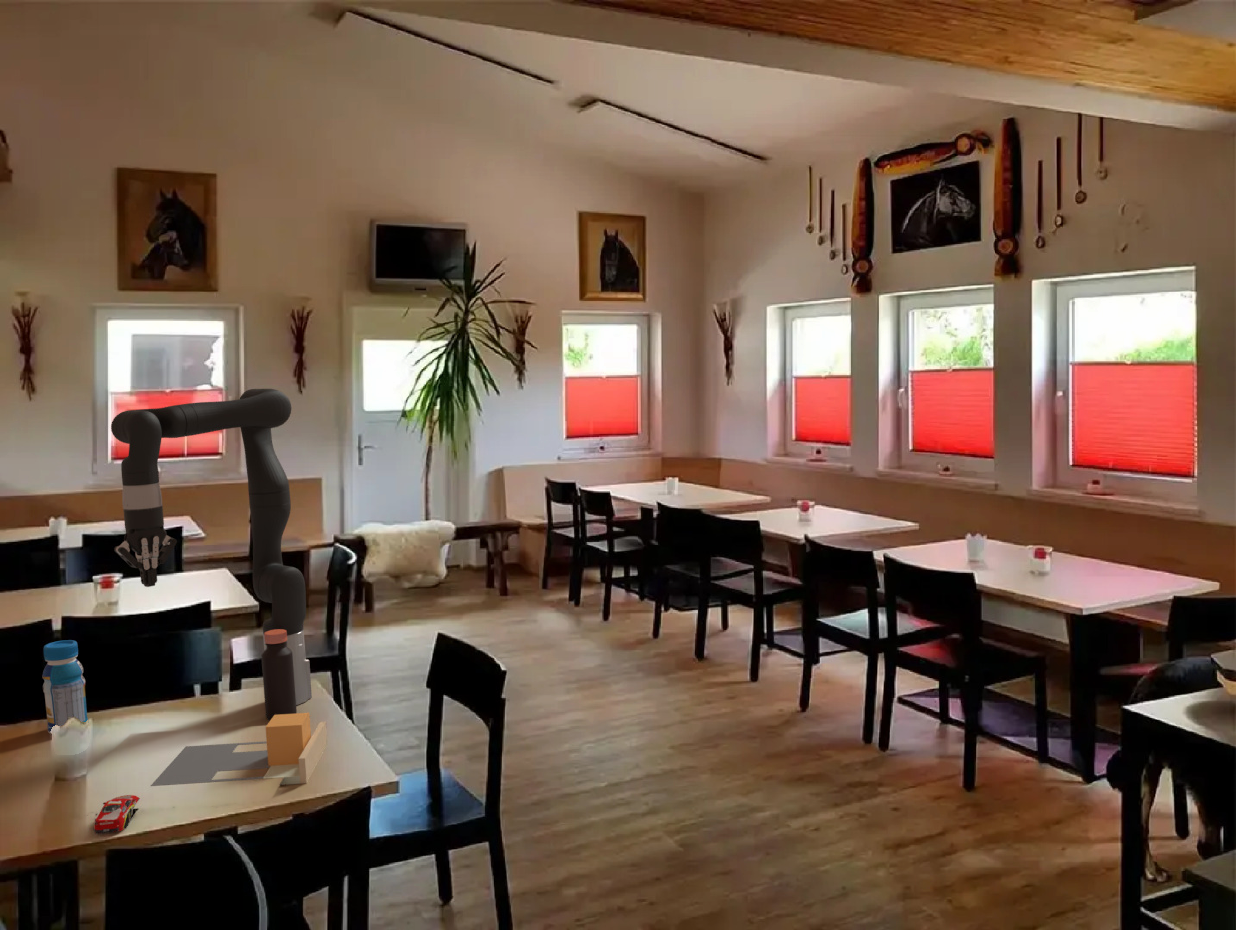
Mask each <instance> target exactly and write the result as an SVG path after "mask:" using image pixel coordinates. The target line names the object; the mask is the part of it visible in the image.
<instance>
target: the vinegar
mask: <svg viewBox="0 0 1236 930" xmlns="http://www.w3.org/2000/svg"><path fill="white" fill-rule="evenodd" d="M264 638H265V645H267V649H266V650H265V651H264V650H263V652H262V654H261V669H262V683H263V695H264V711H265V718H266V719H267V720H268V721H270V720H271V719H272V718H273V716H274V715H280V714H296V713H298V711H297V710H298V709H297V705H296V695H295V681H294V667H293V653H292V651H291V649H289V648H288V647H287V646H286V643H287V631H286V630H284V629H275V630H270V631H267V632H265V633H264ZM264 638H263V639H264Z"/></svg>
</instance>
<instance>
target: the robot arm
mask: <svg viewBox="0 0 1236 930" xmlns="http://www.w3.org/2000/svg"><path fill="white" fill-rule="evenodd" d="M291 413H292V403H291V401H290V398H289V397H288V396H287V394H285V393H284V392H283V391H281V390H279V389H274V388H251V389H247V390H245V391H244V392H243V393H241V395H240V397H239V399H235V400H233V399H231V400H224V401H223V400H222V401H221V400H220V401H201V402H199V401H198V402H190V403H188V402H187V403H181V404H176V405H175V404H174V405H169V406H164V407H159V408H156V407H155V408H143V409H141V408H140V409H131V410H130V409H129V410H128V409H127V410H124V411H122V412H120V413H117V415H115V416H114V417H113V419H112V420H111V421H112V422H111V425H110V431H111V432H112V435H113V437H114V438H115V439H116V440H117V441H119V442H121V443H123V444H127V445H128V456H126V457H125V458H123V459H122V460H121V463H120V464H121V466H120V467H121V469H120V471H121V481H122V482H121V483H122V494H121V495H122V497H121V498H122V502H121V503H122V508H123V509H122V510H123V521H124V528H125V534H124V537H123V540H124V541H122V543H121V544H120V545H117V546H116V545H115V546H114V548H113V550H114V552H115V553H116V554H117V555H118V556H119V557H120V558H121V559H122V560H123V561H125V562H126V563H127V565H128V566H129V567H131V568H135V569H138V570H139V572H140V573H139V574H140V575H139V576H140V583H141V584H142V585H143V586H144V587H146V588H151V587H154V586H156V583H157V582H158V573H157V568H158V567H159V566H160V565H164V564H165V563H166V561H167V560H168V559H169V557H170V555H171V553H172V552H173V549H175V546H176V545H177V543H178V540H177V539H176V538H173V537H171V536H169V535H167V531H166V529H165V528H164V527H165V522H164V521H165V520H164V519H165V517H164V508H163V498H162V497H163V495H162V494H163V493H162V489H161V485H160V477H159V467H158V461H159V457H160V451H161V445H162V439H177V438H184V437H190V436H197V435H201V434H207V433H212V432H213V433H214V432H217V431H224V430H228V429H230V430H231V429H235V428H236V429H237V428H239V429H240V432H241V433H240V434H241V437H242V438H241V439H242V442H243V447H244V448H243V449H244V453H245V454H244V456H245V457H244V458H245V465H246V475H247V476H246V477H247V489H248V492H247V493H248V501H249V511H250V520H251V534H252V537H251V538H252V547H253V549H252V556H253V557H252V585H253V592H254V593H255V595H256V596H257V598H258V599H259V600H260V601H263V602H264V603H268V604H271V617H270V618H268V619H267V618H266V619H265V620H264V621H263V624H262V634H263V635H262V637H263V648H264V649H263V652H264V651H265V650H266V649H267V645H265V638H264V633H265V632H267V631H270V630H275V629H284V630H286V631H287V643H286V646H287V647H288V648H289V649H291V651H292V653H293V667H294V681H295V695H296V706H298V705H301V704H303V703H306V701H308V700H310V699H312V698H313V696H312V679H311V668H310V667H311V666H310V660H309V659H308V658H307V657H306V645H305V632H304V622H305V620H306V615H307V599H306V598H307V594H306V593H307V592H306V591H307V590H306V581H305V578H304V575H303V573H302V572H301V570H299V568H296V567H294V566H291V565H290V566H289V565H284V563H283V557H282V539H283V534H284V532H285V529H286V527H287V525H288V521H289V519H290V514H291V509H292V508H291V505H292V504H291V503H292V502H291V494H290V484H289V479H288V476H287V474H286V472H285V469H284V468H283V466H282V464H281V462H280V460H279V458H278V456H277V454H276V451H275V449H274V445H273V438H272V437H273V435H272V429H275V428H278V427H281V426H283V425H284V424H285V423H286V422H287V421H288V420H289V419H290V417H291ZM160 547H161V548H160ZM131 550H132V551H133V552H134V553H135V557H134V555H132V554H131V553H130V551H131Z"/></svg>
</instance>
